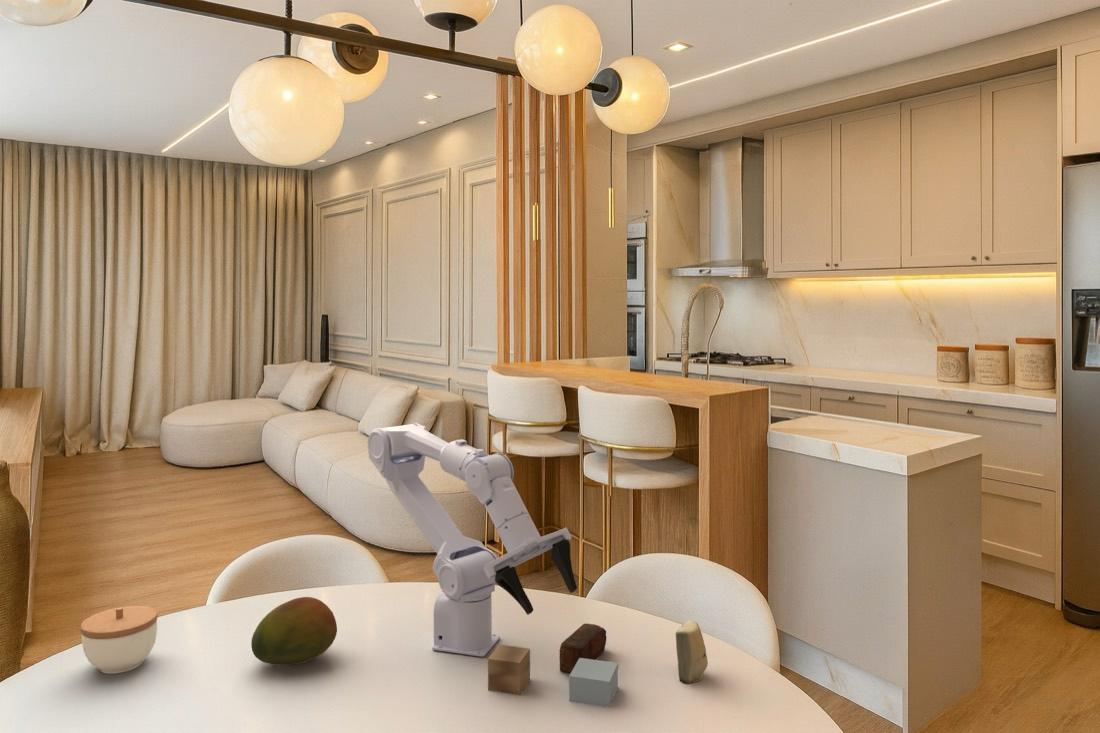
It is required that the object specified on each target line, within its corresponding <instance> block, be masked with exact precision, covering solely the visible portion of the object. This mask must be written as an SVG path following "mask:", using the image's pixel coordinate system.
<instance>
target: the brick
mask: <svg viewBox="0 0 1100 733" xmlns="http://www.w3.org/2000/svg"><path fill="white" fill-rule="evenodd" d="M606 644H607V630H606V629H605V628H604V627H601V626H600V625H597V624H593V623H582V624H581V626H579V627H578V628H577V629H576V630H575V631H574V632H573V633H572V634H571V635H569V636H568V637H567V638H565V640H563V641H562V642H561V644H560V647H559V650H558V651H559V672H562V673H567V674H569V675H570V674H571V672H572V670H573V668H574V667H575V665H576V663H577V661H578V660H579V658H585V659H592V660H598V659H599V658H600V656H601V655H602V654H603V653H604V652H606V651H605V650H606Z"/></svg>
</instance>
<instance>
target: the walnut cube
mask: <svg viewBox="0 0 1100 733" xmlns="http://www.w3.org/2000/svg"><path fill="white" fill-rule="evenodd" d="M530 680H531V648H529V647H519V646H511V645H504V644H499V645H498V646H497V647H496V648H495V650H493V652H492V653H491V654H490V655H489V656H488V658H487V691H491V692H497V693H504V694H508V695H509V694H510V695H515V696H520V695H521V694H522V692H523V691H524V689H525V688H526V687H527V685H528V683H530Z"/></svg>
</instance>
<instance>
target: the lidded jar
mask: <svg viewBox="0 0 1100 733" xmlns="http://www.w3.org/2000/svg"><path fill="white" fill-rule="evenodd" d="M158 617H159V616H158V611H157V610H156V609H155V608H153V607H151V606H146V605H126V606H119V607H114V608H111V609H105V610H103V611H100V612H97V613H95V614H93V615H90V616H89V617H87V618H86V619H84V620H83V621H82V623H81V624H80V626H79V627H80V634H81V643H82V649H83V653H84V655H85V657H86V659H87V661H88V662H89V663H90V664H91V666H93V667H95V668H96V669H98V670H99V672H101V673H103V674H107V675H116V674H122V673H127V672H129V671H132V670H134V669H136V668H139V667H140V666H141V665H142V664H143V663H144V660H145V659H147V657H148V656H149V655H150V654H151V652H152V650H153V649H154V646H155V643H156V640H157V633H158V632H157V631H158Z"/></svg>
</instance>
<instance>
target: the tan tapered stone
mask: <svg viewBox="0 0 1100 733" xmlns="http://www.w3.org/2000/svg"><path fill="white" fill-rule="evenodd" d="M700 627H701V626H700V625H699V623H698V622H696V621H695V620H692V619H690V620H686V621H685V622H684V624H683V625H681V626H680V627H679V628H678V629H677V630H676V631H675V643H676V644H675V645H676V646H675V647H676V656H677V658H676V659H677V669H678V670H677V671H678V678H679V682H682V683H685V684H692V683H694V682H697V681H698V682H699V681H701V680H702V679H703V676H704V675H703V674H704V673H705V672H706V670H707V668H708V664H709V662H708V655H707V650H706V649H707V647H706V645H705V640H704V637H703V633H702V631H701V628H700Z"/></svg>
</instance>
